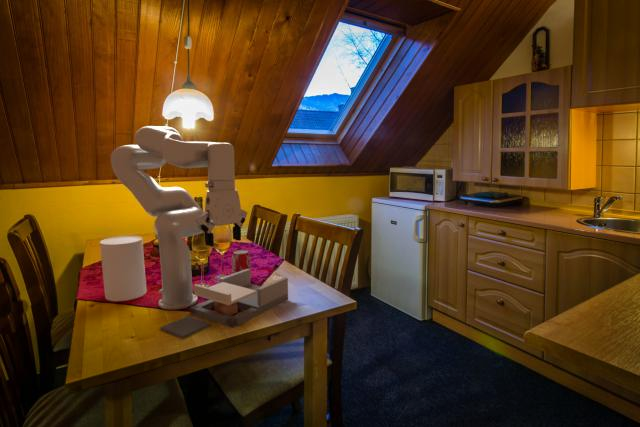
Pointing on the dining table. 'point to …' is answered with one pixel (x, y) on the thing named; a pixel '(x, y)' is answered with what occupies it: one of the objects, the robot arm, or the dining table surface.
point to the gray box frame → (246, 300)
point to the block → (226, 308)
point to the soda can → (240, 261)
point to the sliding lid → (223, 292)
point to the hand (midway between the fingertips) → (223, 242)
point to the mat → (185, 326)
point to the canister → (123, 267)
